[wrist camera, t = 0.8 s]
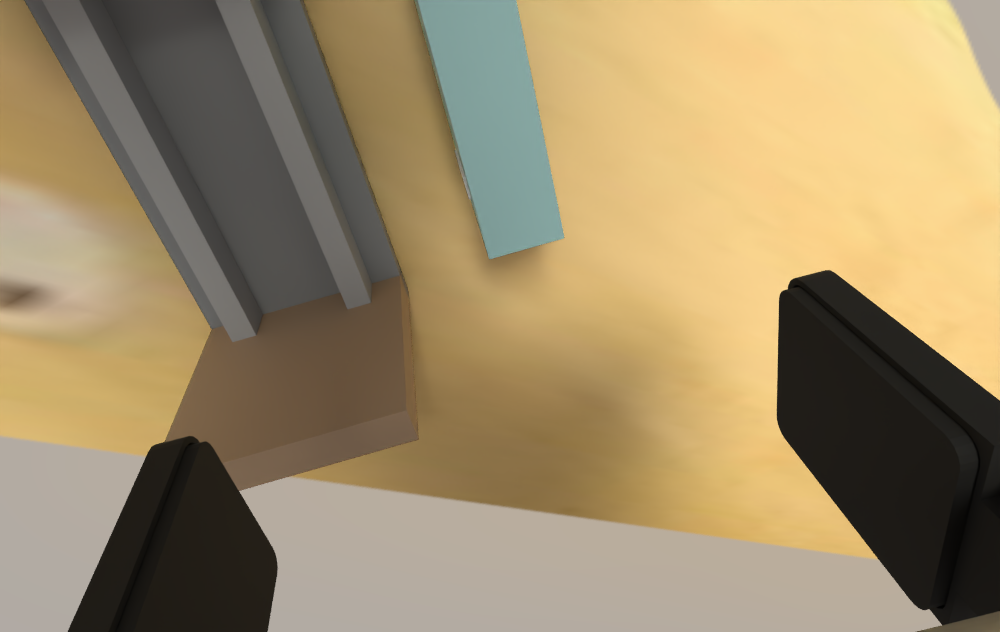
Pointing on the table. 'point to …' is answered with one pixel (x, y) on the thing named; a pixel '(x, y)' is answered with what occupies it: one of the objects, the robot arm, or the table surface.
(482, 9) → the door panel
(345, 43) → the table surface
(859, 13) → the table surface
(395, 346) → the door frame
